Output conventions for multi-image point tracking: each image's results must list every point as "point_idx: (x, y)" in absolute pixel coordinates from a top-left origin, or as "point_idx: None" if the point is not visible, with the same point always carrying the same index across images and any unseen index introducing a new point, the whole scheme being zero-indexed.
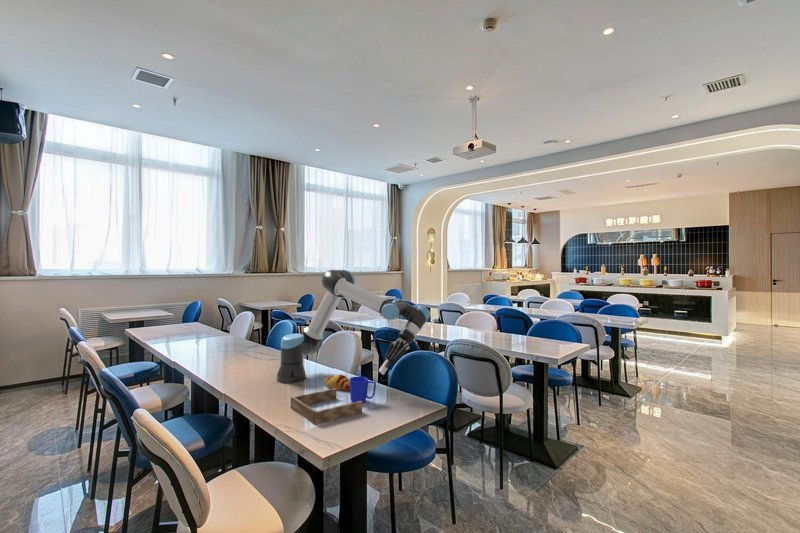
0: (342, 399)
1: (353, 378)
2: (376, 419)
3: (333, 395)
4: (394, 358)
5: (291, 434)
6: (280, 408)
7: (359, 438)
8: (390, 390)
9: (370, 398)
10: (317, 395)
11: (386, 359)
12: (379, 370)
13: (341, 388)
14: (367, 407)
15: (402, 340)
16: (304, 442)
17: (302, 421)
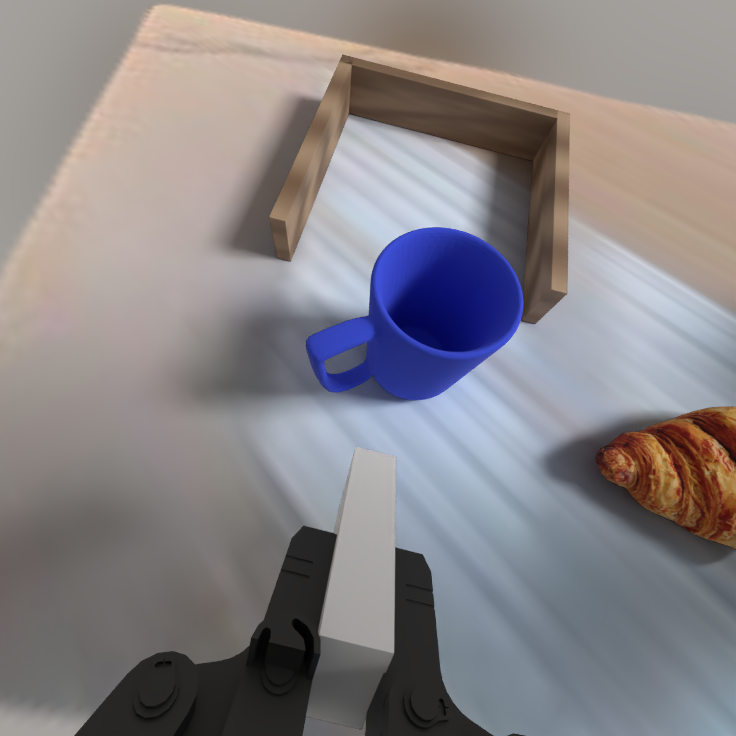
0: None
1: (509, 298)
2: (164, 235)
3: (533, 293)
4: (102, 704)
5: (339, 44)
6: None
7: (126, 96)
8: None
9: (339, 375)
10: (546, 208)
11: (386, 646)
12: (379, 456)
13: (639, 431)
14: (302, 321)
15: None
16: (265, 29)
17: None
